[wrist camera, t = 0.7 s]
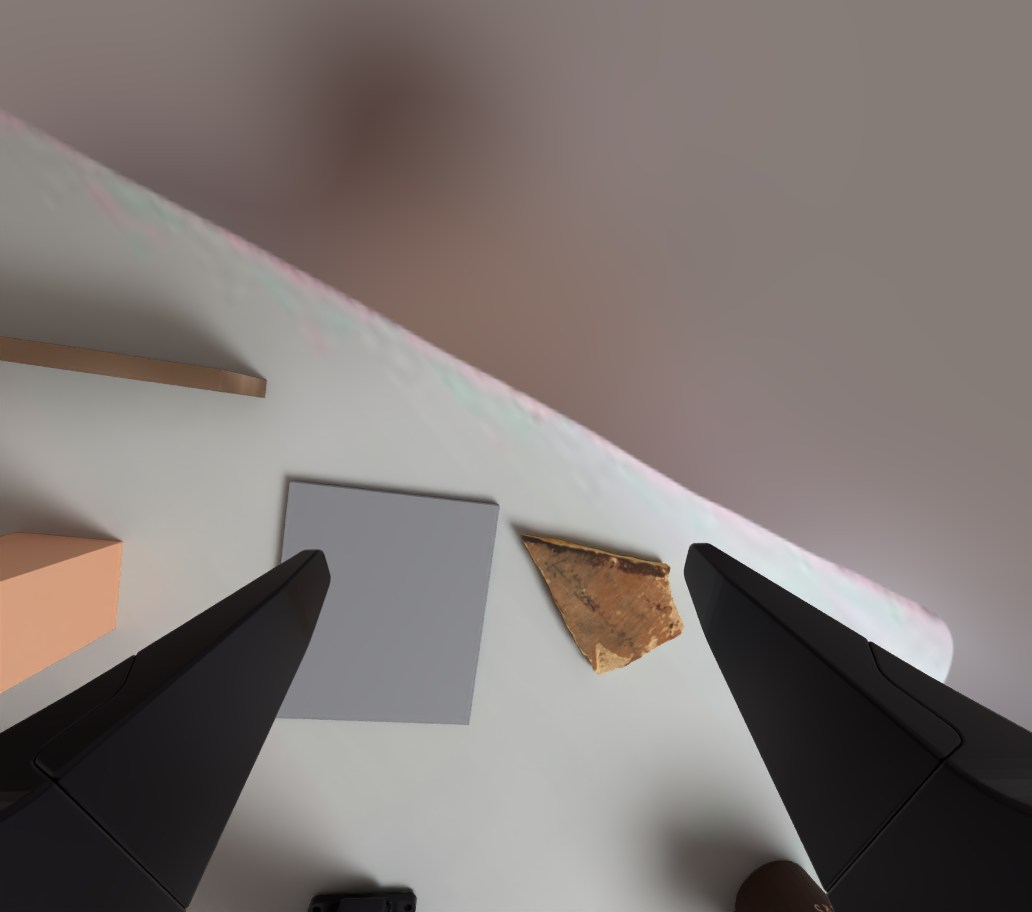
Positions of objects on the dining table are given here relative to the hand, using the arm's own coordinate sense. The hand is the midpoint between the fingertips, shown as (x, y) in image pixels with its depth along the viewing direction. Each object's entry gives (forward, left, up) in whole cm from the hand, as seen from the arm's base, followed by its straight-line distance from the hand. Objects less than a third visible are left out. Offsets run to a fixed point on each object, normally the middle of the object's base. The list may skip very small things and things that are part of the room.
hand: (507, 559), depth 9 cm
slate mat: (-8, +5, -14) cm, 17 cm away
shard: (-7, -8, -15) cm, 18 cm away
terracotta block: (-8, +22, -14) cm, 27 cm away
